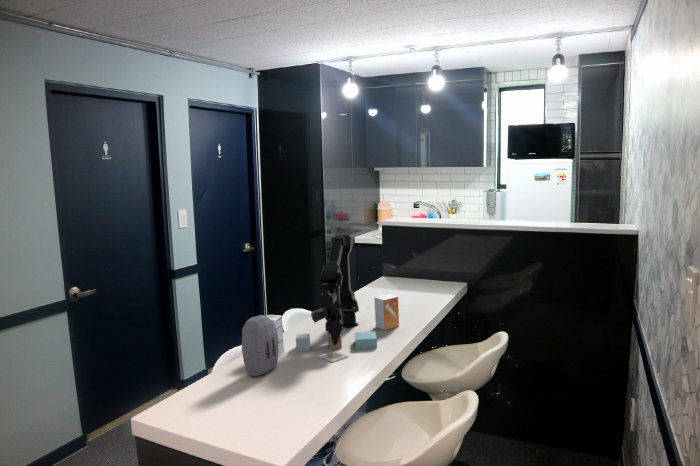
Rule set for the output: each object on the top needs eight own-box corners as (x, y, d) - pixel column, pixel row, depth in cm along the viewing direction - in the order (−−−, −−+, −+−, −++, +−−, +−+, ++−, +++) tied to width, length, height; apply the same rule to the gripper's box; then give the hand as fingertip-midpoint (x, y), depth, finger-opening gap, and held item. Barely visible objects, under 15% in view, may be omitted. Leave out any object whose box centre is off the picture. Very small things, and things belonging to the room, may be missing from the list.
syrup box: (284, 351, 194) (282, 314, 192) (277, 357, 188) (274, 319, 186) (271, 350, 196) (268, 314, 194) (264, 356, 190) (260, 318, 188)
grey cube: (297, 346, 199) (296, 334, 198) (310, 345, 199) (309, 333, 198) (296, 351, 194) (295, 338, 193) (309, 350, 194) (309, 337, 193)
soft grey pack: (268, 362, 184) (264, 308, 182) (287, 365, 180) (283, 310, 177) (240, 378, 172) (234, 321, 169) (259, 382, 167) (254, 323, 165)
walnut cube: (328, 344, 199) (328, 332, 199) (341, 343, 199) (340, 331, 199) (328, 349, 194) (328, 336, 194) (341, 348, 194) (341, 335, 194)
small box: (384, 330, 211) (383, 300, 209) (375, 327, 216) (373, 297, 215) (399, 326, 216) (398, 296, 214) (390, 322, 221) (389, 293, 219)
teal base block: (355, 342, 200) (354, 332, 200) (375, 341, 201) (375, 331, 200) (356, 349, 192) (355, 339, 192) (377, 348, 193) (376, 338, 192)
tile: (321, 357, 186) (321, 355, 186) (336, 352, 190) (336, 350, 190) (332, 362, 181) (332, 360, 181) (348, 357, 185) (348, 355, 185)
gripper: (312, 296, 203) (314, 333, 206) (310, 309, 185) (313, 350, 187) (340, 294, 204) (342, 332, 206) (341, 307, 185) (343, 348, 187)
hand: (335, 340), depth 197 cm, fingers open, 9 cm apart
